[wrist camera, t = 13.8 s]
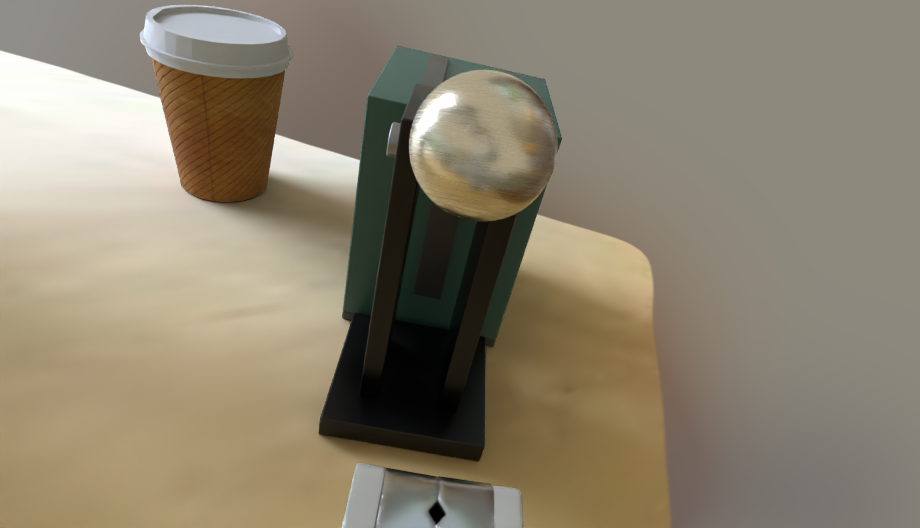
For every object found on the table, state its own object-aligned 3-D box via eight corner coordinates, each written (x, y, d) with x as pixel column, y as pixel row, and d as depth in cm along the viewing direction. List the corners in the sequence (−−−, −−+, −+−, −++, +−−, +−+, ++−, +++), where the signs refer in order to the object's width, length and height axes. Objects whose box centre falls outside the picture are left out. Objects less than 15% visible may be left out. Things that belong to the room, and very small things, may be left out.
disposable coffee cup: (218, 145, 48) (212, -2, 42) (311, 181, 47) (320, 34, 40) (126, 183, 41) (100, 10, 34) (233, 229, 39) (228, 56, 32)
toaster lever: (551, 244, 12) (591, 77, 11) (390, 211, 11) (422, 38, 11) (490, 201, 24) (507, 124, 24) (414, 185, 24) (429, 107, 24)
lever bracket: (479, 462, 27) (584, 178, 19) (318, 434, 27) (348, 127, 18) (481, 350, 34) (560, 102, 25) (352, 326, 33) (386, 63, 25)
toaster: (508, 351, 34) (583, 139, 27) (341, 320, 34) (367, 91, 26) (504, 261, 43) (561, 78, 35) (371, 234, 42) (397, 41, 34)
